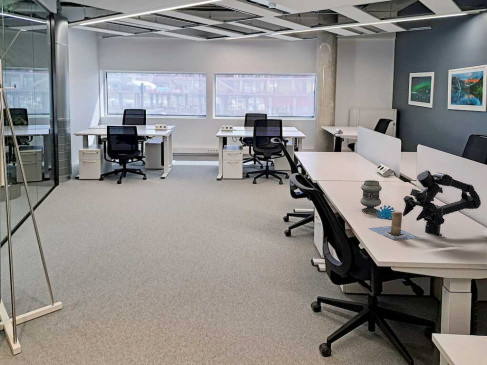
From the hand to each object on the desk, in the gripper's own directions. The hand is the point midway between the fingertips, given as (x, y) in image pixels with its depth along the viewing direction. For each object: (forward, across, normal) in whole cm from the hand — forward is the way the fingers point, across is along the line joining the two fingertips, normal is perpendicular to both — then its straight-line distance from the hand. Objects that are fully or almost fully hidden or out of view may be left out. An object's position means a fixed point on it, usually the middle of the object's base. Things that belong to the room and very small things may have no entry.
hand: (409, 217), depth 234 cm
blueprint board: (+10, -6, +4) cm, 12 cm away
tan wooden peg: (+12, 0, +1) cm, 12 cm away
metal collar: (+12, 0, +1) cm, 12 cm away
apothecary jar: (-4, -51, +19) cm, 54 cm away
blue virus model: (-1, -31, +16) cm, 35 cm away
